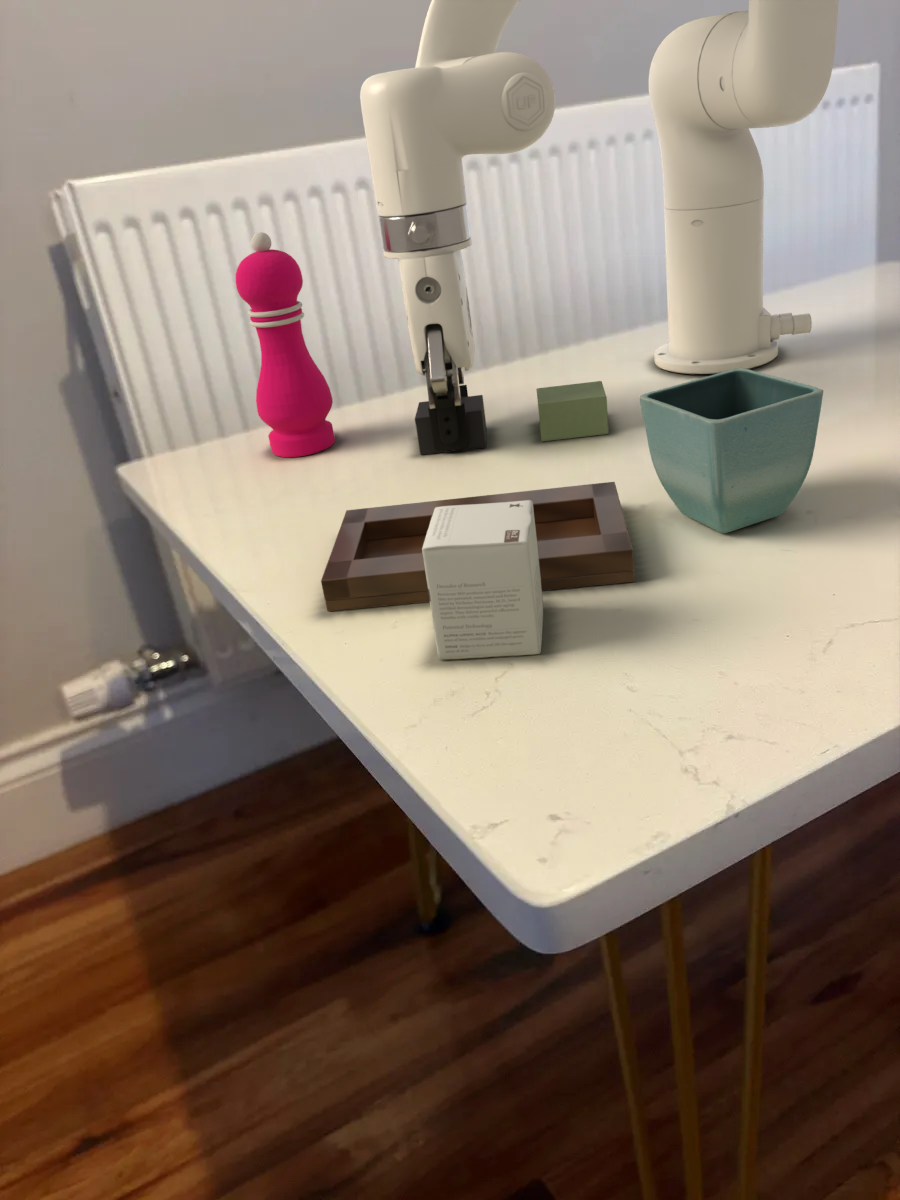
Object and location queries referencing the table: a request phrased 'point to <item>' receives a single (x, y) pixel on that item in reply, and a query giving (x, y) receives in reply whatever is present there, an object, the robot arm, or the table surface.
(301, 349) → the pepper mill
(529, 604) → the product carton
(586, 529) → the wooden tray
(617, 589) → the table surface
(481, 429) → the black block
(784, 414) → the flower pot
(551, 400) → the green rectangular block
